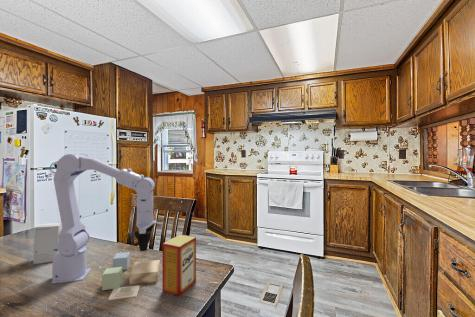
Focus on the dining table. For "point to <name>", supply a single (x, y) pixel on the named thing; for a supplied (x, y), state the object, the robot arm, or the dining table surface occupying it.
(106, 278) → the sage green block
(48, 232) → the skincare box
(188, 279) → the baking soda box
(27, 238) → the dining table surface
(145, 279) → the birch base block
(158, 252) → the dining table surface
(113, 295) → the card
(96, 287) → the dining table surface
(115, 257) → the dusty blue block
